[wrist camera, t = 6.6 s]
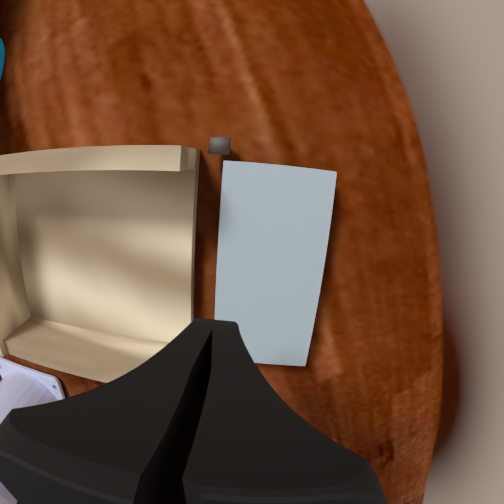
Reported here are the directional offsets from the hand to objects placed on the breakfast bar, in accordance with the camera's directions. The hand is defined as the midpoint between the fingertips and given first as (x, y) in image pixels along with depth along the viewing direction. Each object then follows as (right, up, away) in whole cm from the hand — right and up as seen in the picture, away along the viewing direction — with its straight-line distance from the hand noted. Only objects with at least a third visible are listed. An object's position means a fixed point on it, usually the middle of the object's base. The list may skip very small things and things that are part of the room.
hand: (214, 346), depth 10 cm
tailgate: (-1, +2, +7) cm, 7 cm away
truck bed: (-8, +3, +7) cm, 12 cm away
